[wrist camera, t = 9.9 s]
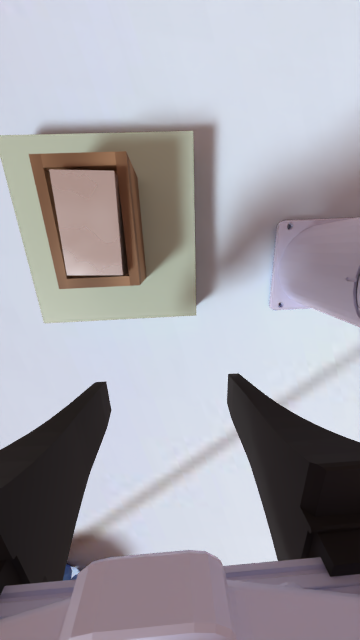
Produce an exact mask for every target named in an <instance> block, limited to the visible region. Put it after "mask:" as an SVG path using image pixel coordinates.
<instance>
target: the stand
mask: <svg viewBox="0 0 360 640" xmlns="http://www.w3.org/2000/svg"><path fill="white" fill-rule="evenodd" d="M118 151H126V152H127V154H128V157H129V159H130V161H131V164H132V166H133V168H134V170H135V173H136V175H137V177H138V188H139V199H140V210H141V221H142V232H143V243H144V254H145V265H146V276H147V278H146V279H145V280H144V281H143V282H142V283H141V285H136V286H115V287H95V288H74V289H59V286H58V282H57V278H56V273H55V269H54V264H53V260H52V256H51V251H50V247H49V242H48V238H47V233H46V229H45V225H44V220H43V216H42V211H41V207H40V203H39V198H38V194H37V189H36V185H35V181H34V176H33V172H32V167H31V163H30V158H29V154H46V153H82V152H118ZM0 157H1V161H2V165H3V168H4V172H5V176H6V180H7V184H8V187H9V191H10V195H11V199H12V203H13V207H14V210H15V214H16V218H17V222H18V226H19V229H20V233H21V237H22V241H23V245H24V248H25V252H26V256H27V260H28V264H29V267H30V271H31V275H32V279H33V283H34V286H35V290H36V294H37V298H38V302H39V306H40V309H41V313H42V317H43V321H44V323H60V322H79V321H98V320H117V319H136V318H155V317H174V316H193V315H196V273H195V211H194V149H193V131H165V132H123V133H82V134H40V135H0Z"/></svg>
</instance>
